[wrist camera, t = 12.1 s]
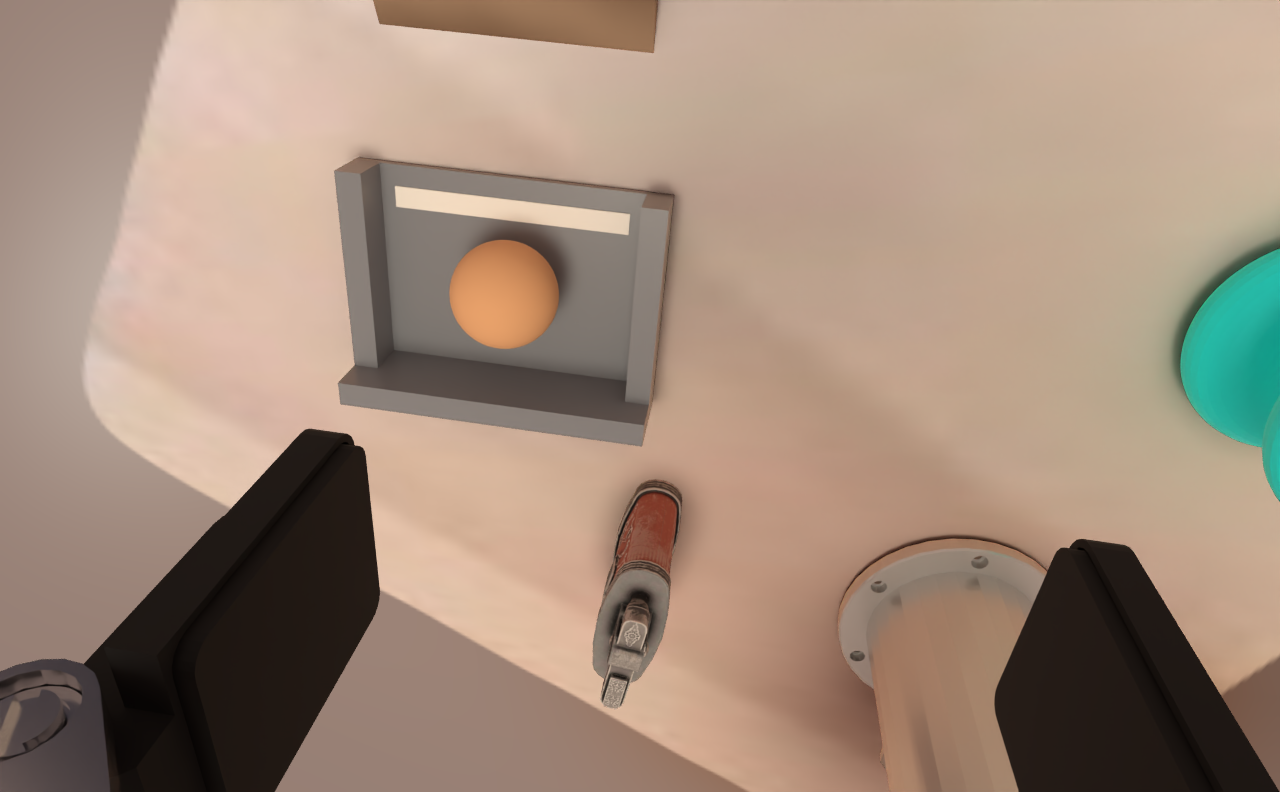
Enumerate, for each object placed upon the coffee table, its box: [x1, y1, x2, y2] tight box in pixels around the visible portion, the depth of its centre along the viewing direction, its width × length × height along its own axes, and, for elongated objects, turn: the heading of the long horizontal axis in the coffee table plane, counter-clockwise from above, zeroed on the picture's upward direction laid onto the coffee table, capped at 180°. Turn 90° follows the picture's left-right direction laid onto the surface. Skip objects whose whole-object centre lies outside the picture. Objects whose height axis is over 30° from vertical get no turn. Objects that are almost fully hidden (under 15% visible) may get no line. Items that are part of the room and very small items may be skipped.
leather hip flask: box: [593, 480, 682, 709], centre depth 43 cm, size 8×3×10 cm, turn 167°
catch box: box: [334, 158, 674, 446], centre depth 39 cm, size 11×15×4 cm
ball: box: [449, 240, 559, 349], centre depth 38 cm, size 5×5×5 cm
